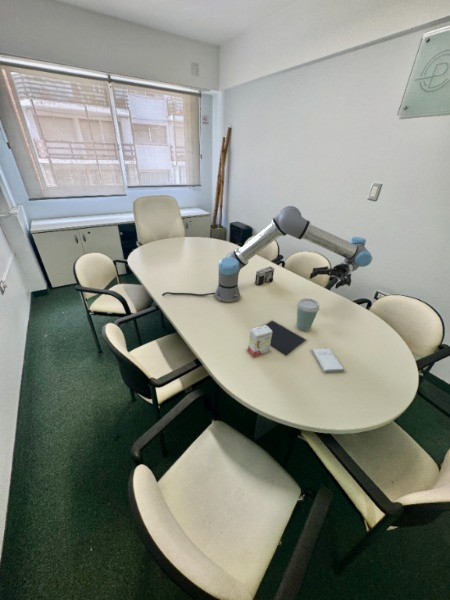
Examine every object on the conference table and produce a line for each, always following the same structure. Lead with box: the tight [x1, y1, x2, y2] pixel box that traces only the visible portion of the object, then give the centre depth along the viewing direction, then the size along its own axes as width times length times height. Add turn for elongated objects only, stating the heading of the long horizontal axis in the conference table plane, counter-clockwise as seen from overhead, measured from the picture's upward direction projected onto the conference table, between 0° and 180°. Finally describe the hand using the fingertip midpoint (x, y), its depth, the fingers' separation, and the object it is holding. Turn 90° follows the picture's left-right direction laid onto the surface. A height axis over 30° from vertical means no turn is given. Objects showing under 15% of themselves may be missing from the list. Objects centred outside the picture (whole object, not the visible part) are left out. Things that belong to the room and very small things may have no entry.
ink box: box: [247, 324, 273, 358], centre depth 105 cm, size 9×5×12 cm, turn 116°
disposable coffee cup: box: [296, 297, 320, 332], centre depth 121 cm, size 11×11×15 cm
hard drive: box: [312, 347, 345, 373], centre depth 104 cm, size 2×8×12 cm
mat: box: [265, 320, 306, 356], centre depth 117 cm, size 20×16×1 cm
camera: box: [254, 266, 275, 287], centre depth 164 cm, size 14×8×10 cm, turn 130°
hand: (323, 280), depth 118 cm, fingers open, 13 cm apart
